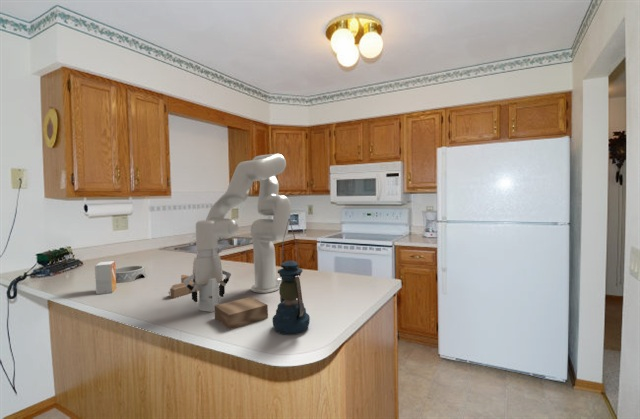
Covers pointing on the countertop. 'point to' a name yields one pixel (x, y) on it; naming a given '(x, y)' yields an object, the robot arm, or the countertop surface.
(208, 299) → the skincare box
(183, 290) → the wooden block set
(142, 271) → the dog bowl
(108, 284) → the small box
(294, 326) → the lantern
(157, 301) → the countertop surface
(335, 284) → the countertop surface
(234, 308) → the brown cardboard box
